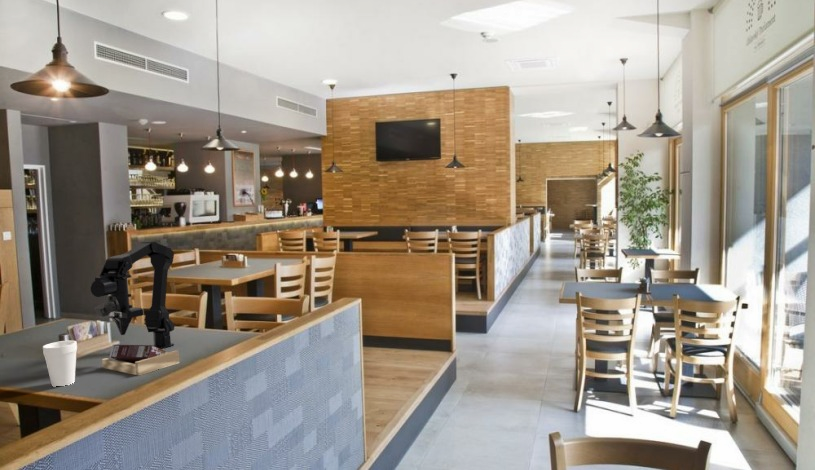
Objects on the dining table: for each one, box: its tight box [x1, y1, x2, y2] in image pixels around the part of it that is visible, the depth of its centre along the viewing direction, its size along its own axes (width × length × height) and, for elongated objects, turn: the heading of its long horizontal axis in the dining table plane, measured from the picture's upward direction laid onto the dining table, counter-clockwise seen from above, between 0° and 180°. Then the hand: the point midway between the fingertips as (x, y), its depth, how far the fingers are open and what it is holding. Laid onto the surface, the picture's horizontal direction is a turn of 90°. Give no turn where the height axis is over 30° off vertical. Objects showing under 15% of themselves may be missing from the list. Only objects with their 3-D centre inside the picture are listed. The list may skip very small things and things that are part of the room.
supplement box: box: [108, 344, 167, 363], centre depth 201 cm, size 9×5×16 cm
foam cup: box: [42, 340, 78, 388], centre depth 184 cm, size 10×9×13 cm
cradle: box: [101, 350, 180, 376], centre depth 202 cm, size 22×16×4 cm
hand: (122, 334), depth 207 cm, fingers closed
